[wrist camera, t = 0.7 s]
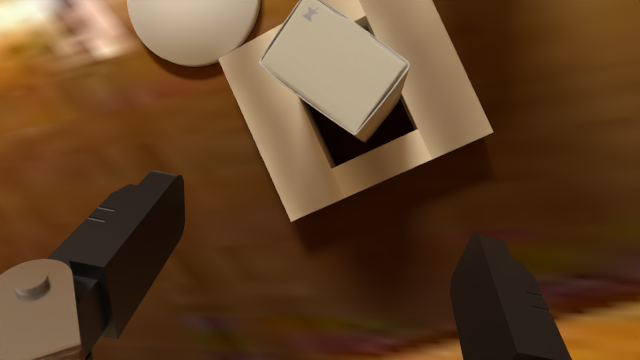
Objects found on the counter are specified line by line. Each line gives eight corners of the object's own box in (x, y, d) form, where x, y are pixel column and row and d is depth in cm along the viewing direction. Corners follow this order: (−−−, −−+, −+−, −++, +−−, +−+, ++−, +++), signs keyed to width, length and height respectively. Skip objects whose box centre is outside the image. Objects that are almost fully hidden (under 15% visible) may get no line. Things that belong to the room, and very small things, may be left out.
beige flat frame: (408, -26, 30) (410, -47, 27) (483, 134, 29) (493, 132, 26) (233, 67, 32) (218, 58, 29) (300, 215, 32) (291, 221, 29)
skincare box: (303, 97, 31) (249, 60, 19) (336, 51, 31) (302, -18, 19) (369, 147, 31) (354, 140, 19) (404, 100, 30) (413, 62, 18)
